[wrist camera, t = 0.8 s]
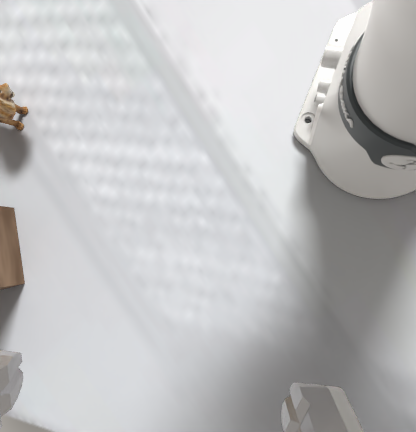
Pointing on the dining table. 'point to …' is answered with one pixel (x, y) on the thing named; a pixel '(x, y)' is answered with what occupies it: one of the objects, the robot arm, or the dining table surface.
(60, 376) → the dining table surface
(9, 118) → the lion figurine
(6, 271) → the brown tall block
